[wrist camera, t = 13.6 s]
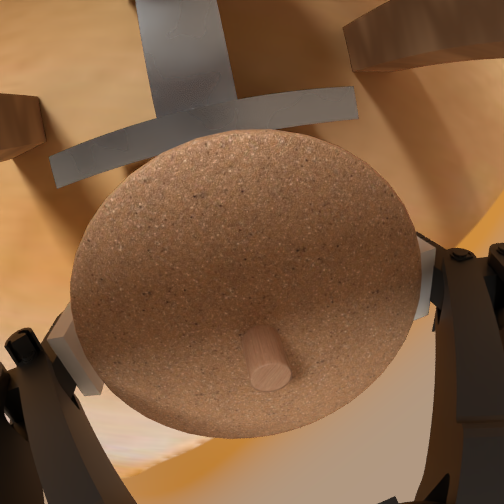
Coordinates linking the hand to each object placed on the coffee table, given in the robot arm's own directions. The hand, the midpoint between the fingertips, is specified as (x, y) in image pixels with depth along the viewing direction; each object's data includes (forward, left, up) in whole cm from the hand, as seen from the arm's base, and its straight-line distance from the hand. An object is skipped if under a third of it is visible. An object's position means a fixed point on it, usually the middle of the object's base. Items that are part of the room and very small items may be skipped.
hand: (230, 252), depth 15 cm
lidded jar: (0, 0, -1) cm, 1 cm away
